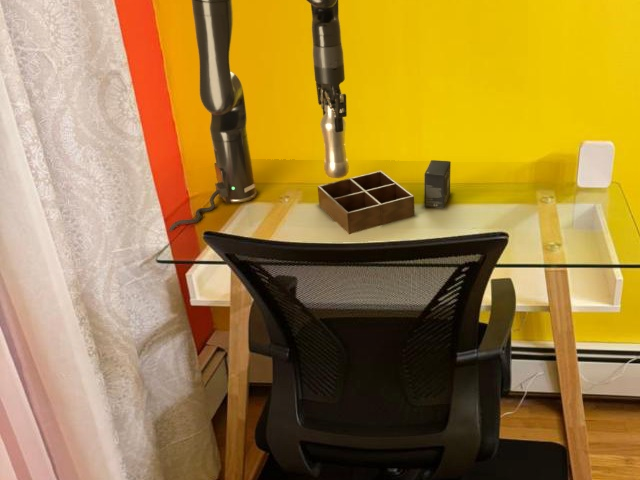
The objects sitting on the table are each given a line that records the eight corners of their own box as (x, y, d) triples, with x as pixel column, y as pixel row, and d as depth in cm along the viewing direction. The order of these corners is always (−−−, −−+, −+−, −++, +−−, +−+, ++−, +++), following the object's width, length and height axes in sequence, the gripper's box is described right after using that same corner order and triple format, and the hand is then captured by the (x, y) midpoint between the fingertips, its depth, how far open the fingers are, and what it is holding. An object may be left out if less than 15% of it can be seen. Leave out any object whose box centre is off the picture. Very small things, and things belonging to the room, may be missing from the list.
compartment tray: (348, 233, 197) (347, 213, 193) (319, 205, 210) (317, 186, 207) (414, 216, 203) (414, 196, 200) (382, 189, 217) (381, 170, 213)
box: (444, 209, 206) (444, 175, 200) (423, 207, 207) (423, 173, 202) (450, 193, 213) (451, 160, 208) (430, 192, 214) (430, 159, 209)
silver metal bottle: (346, 182, 211) (341, 108, 199) (322, 180, 213) (315, 107, 200) (352, 172, 216) (347, 99, 204) (328, 170, 218) (322, 98, 206)
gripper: (303, 57, 200) (309, 121, 210) (326, 72, 190) (331, 139, 200) (330, 52, 203) (335, 116, 213) (354, 67, 193) (358, 133, 203)
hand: (333, 127), depth 206 cm, fingers closed on silver metal bottle, 6 cm apart
